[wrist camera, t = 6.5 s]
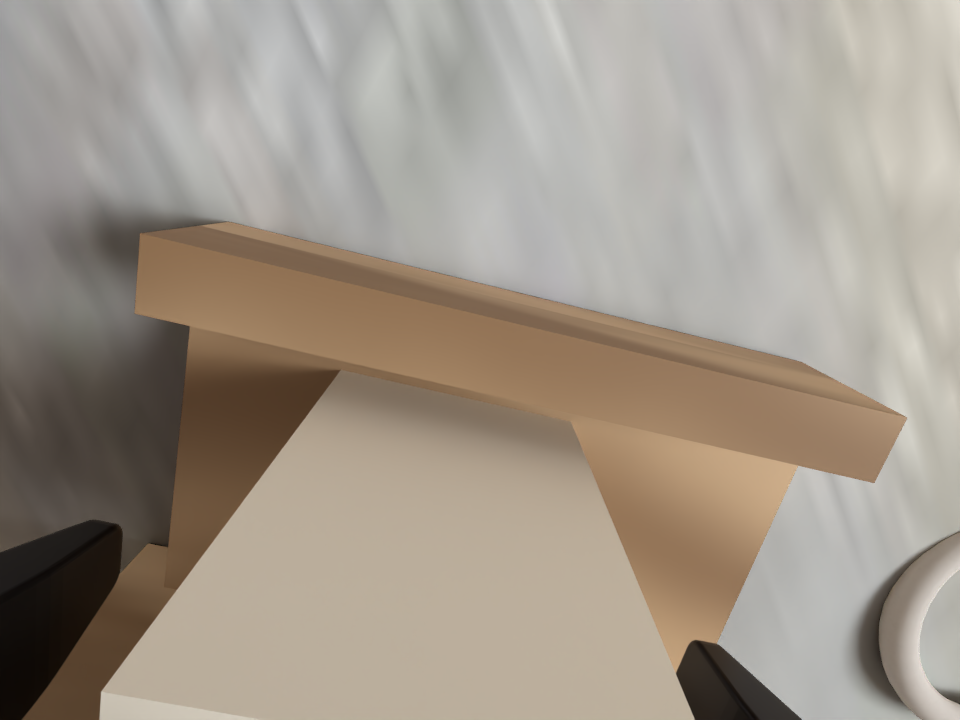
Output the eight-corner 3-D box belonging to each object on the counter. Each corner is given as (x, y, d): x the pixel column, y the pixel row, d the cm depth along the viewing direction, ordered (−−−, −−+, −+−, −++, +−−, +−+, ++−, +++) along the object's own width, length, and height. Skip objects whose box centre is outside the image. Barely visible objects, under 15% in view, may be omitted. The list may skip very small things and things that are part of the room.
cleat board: (692, 703, 14) (837, 1043, 9) (143, 599, 13) (-109, 909, 8) (844, 372, 12) (1195, 545, 6) (176, 208, 11) (-167, 230, 5)
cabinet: (506, 626, 12) (563, 1415, 4) (301, 586, 12) (-39, 1365, 4) (571, 421, 11) (829, 1041, 3) (340, 370, 10) (-66, 915, 3)
